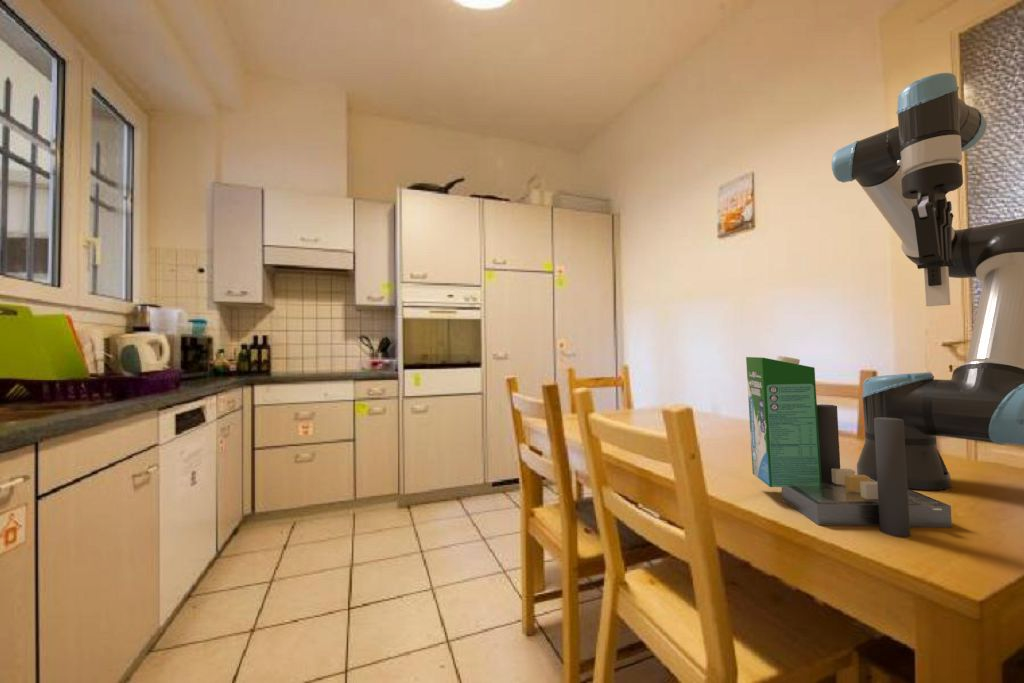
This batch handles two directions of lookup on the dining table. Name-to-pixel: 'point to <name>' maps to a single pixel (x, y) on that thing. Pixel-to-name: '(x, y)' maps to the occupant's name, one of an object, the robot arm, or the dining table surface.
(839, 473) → the grey small block
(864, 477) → the tan wooden block
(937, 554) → the dining table surface
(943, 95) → the robot arm
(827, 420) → the post
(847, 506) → the breaker panel
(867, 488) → the beige rectangular block
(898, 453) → the post
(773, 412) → the milk carton
